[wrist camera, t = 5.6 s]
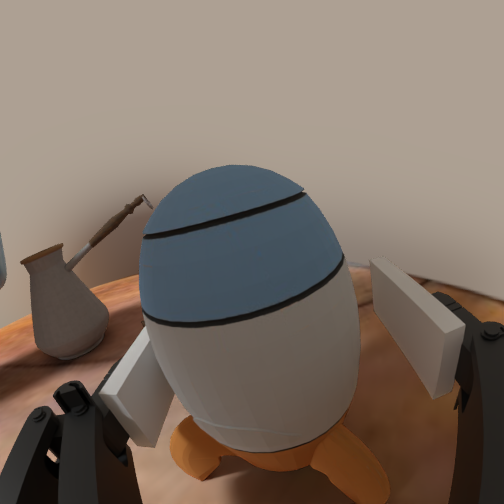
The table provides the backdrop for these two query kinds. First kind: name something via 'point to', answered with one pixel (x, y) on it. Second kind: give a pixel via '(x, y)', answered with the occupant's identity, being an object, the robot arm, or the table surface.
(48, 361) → the table surface
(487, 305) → the table surface
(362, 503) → the toy rocket
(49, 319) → the coffee pot
